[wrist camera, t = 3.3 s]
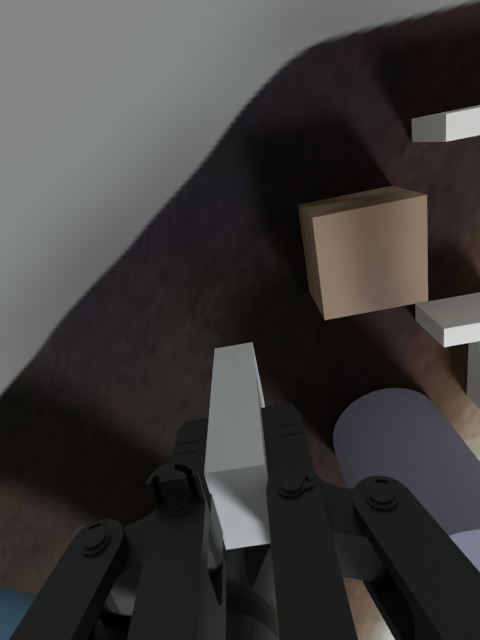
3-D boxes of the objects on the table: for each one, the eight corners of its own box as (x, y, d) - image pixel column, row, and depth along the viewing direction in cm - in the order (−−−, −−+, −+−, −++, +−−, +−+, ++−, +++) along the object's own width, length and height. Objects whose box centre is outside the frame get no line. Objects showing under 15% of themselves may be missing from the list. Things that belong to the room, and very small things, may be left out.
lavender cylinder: (429, 370, 37) (549, 508, 23) (448, 455, 40) (561, 616, 27) (318, 406, 38) (368, 556, 24) (347, 485, 42) (404, 653, 28)
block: (309, 291, 34) (324, 320, 28) (297, 204, 31) (312, 217, 25) (395, 274, 33) (428, 301, 28) (391, 185, 30) (426, 194, 25)
